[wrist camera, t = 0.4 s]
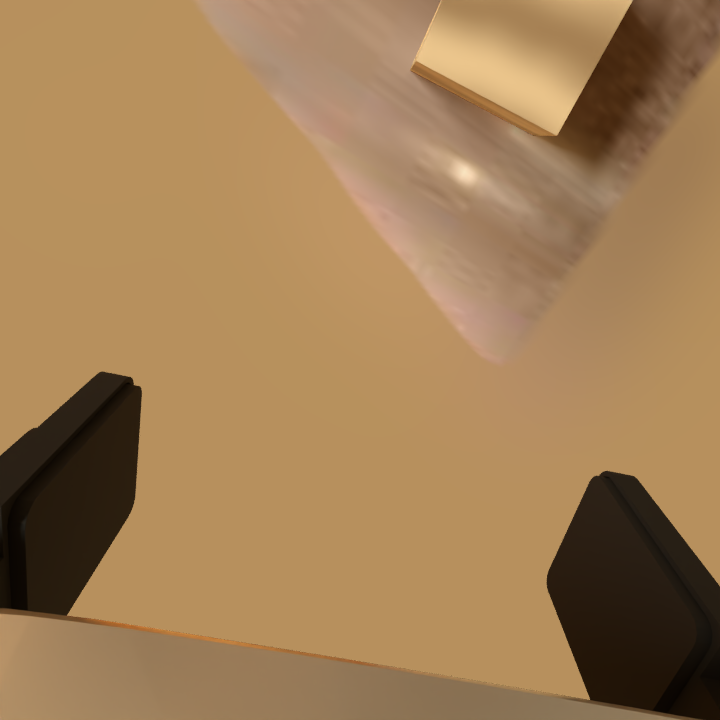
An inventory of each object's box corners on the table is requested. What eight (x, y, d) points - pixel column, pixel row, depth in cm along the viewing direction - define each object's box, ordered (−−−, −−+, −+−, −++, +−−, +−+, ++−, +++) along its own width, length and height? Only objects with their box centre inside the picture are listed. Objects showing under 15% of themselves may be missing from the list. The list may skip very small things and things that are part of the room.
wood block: (480, -92, 31) (500, -131, 26) (613, -14, 32) (653, -38, 28) (409, 70, 34) (415, 60, 29) (532, 135, 35) (556, 135, 31)
